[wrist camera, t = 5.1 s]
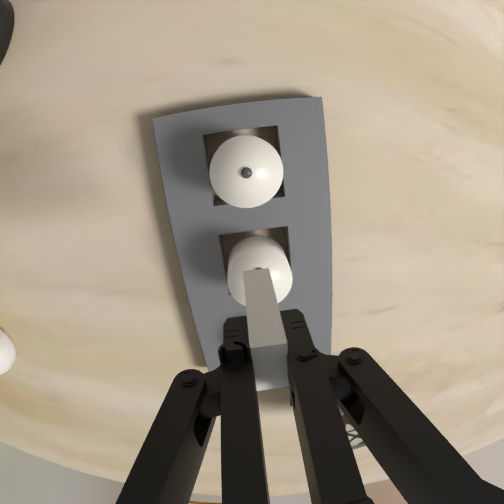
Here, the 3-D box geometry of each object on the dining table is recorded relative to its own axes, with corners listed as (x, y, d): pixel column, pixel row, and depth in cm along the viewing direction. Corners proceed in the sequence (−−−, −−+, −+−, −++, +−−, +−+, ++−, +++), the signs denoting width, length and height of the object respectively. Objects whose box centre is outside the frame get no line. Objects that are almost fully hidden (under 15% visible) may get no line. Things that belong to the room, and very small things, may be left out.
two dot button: (223, 239, 31) (222, 257, 27) (283, 231, 31) (290, 247, 27) (232, 291, 34) (232, 313, 30) (288, 284, 34) (294, 305, 30)
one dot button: (208, 139, 27) (204, 141, 23) (273, 131, 27) (279, 132, 23) (217, 201, 30) (215, 213, 26) (279, 193, 30) (286, 203, 26)
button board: (157, 118, 28) (152, 118, 26) (316, 98, 28) (321, 96, 26) (211, 367, 41) (210, 377, 39) (326, 352, 41) (330, 361, 39)
